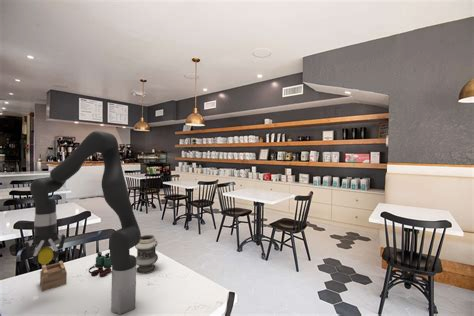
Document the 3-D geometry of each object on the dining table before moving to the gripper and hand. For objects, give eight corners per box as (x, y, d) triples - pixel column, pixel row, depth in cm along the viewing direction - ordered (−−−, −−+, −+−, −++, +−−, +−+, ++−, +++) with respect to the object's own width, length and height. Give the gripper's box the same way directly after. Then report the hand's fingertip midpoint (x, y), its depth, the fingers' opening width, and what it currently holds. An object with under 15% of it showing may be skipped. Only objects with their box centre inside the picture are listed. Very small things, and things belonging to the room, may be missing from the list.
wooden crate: (66, 284, 111) (66, 267, 111) (42, 291, 105) (42, 273, 105) (63, 276, 118) (63, 260, 118) (40, 283, 111) (40, 266, 111)
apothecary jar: (132, 266, 130) (133, 235, 130) (154, 261, 137) (155, 231, 136) (136, 276, 120) (137, 242, 120) (160, 271, 127) (161, 238, 126)
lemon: (34, 268, 98) (34, 249, 98) (41, 262, 103) (41, 244, 103) (49, 267, 99) (49, 248, 99) (56, 261, 105) (56, 243, 104)
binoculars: (85, 260, 116) (98, 249, 126) (86, 279, 117) (99, 268, 127) (101, 261, 115) (114, 251, 125) (102, 281, 116) (115, 269, 126)
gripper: (23, 228, 93) (23, 270, 93) (67, 221, 103) (67, 259, 103) (22, 224, 98) (22, 263, 99) (64, 218, 108) (64, 253, 109)
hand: (45, 261), depth 101 cm, fingers closed on lemon, 5 cm apart
